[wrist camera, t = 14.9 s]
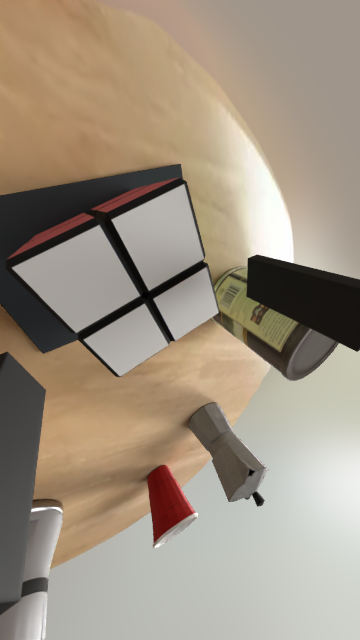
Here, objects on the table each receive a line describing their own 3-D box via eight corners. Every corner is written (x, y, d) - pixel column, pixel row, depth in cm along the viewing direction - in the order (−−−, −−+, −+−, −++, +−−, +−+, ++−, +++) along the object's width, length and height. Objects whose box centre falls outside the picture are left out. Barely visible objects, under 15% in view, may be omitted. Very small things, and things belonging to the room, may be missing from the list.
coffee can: (248, 319, 36) (325, 367, 25) (203, 328, 31) (273, 393, 21) (264, 264, 31) (369, 296, 20) (213, 266, 26) (313, 309, 16)
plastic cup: (136, 493, 49) (152, 559, 40) (137, 472, 44) (155, 542, 35) (173, 473, 54) (195, 527, 45) (178, 452, 49) (203, 509, 40)
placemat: (43, 350, 21) (43, 354, 21) (-76, 209, 13) (-81, 209, 13) (195, 289, 27) (197, 291, 26) (178, 164, 19) (180, 163, 18)
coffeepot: (184, 411, 41) (242, 515, 27) (219, 390, 44) (288, 475, 30) (191, 441, 50) (238, 531, 36) (220, 422, 52) (274, 499, 39)
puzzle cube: (31, 236, 16) (-4, 265, 8) (135, 187, 17) (187, 172, 10) (101, 320, 22) (119, 381, 14) (173, 278, 24) (222, 313, 16)
